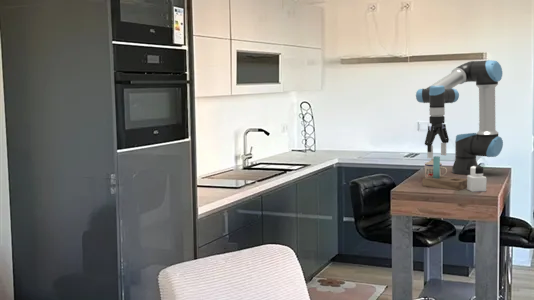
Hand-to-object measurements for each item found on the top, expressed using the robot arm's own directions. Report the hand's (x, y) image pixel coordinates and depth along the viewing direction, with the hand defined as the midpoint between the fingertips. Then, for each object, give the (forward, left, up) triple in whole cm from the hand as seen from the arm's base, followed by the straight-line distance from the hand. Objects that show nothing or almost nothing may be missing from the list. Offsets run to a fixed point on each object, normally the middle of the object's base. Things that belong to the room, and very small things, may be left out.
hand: (437, 156), depth 322 cm
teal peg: (0, 0, -15) cm, 15 cm away
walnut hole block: (0, +5, -15) cm, 16 cm away
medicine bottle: (+1, +22, -15) cm, 27 cm away
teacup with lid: (-16, -10, -15) cm, 24 cm away
